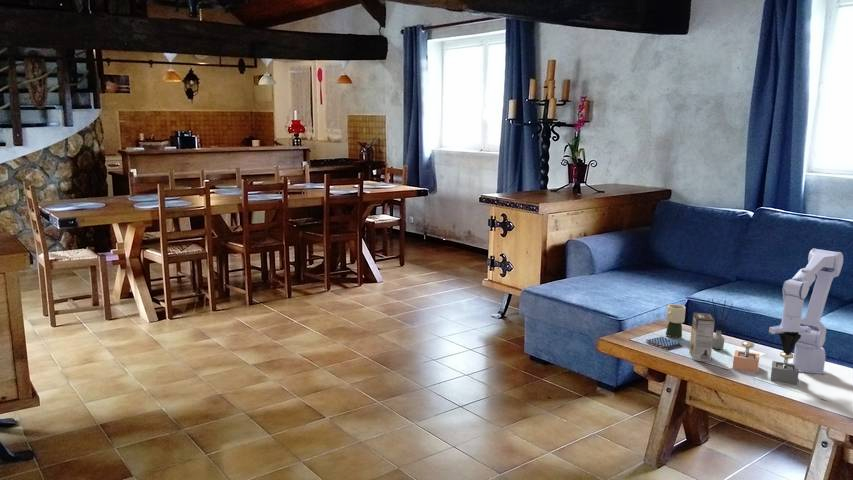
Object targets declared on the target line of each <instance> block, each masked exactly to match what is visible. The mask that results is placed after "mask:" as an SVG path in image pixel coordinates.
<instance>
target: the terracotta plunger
mask: <svg viewBox="0 0 853 480" xmlns="http://www.w3.org/2000/svg"><path fill="white" fill-rule="evenodd" d="M741 346H742V347H744V348H745V351H744V352H745V354H742V353H740V354H739V356H741V357H747V358H753V359H754V355H749V352H750V349H751V348H754V347H755V343H754V342H752V341H744V340H743V341H742V342H741Z"/></svg>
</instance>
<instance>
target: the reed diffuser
mask: <svg viewBox="0 0 853 480" xmlns="http://www.w3.org/2000/svg"><path fill="white" fill-rule="evenodd" d="M711 301H712V306H713V313H714V320H715V323H716V324H715V325H716V329H715V334H713V341H712V348H714V349H717V350H718V349H720V350H723V349H724V346H725V345H724V344H725V337H724V336H722V330H723V327H724V325H725V323H726V320H727V319H728V316H729V313H730V312H731V310H732V307H733V303H731V305H730V308H729V310H728V312H727V315H726V317H725V319H724V322H723V317H724V314H725V313H724V311H725V308H726V301H727V300H724V304H723V308H722V309H723V310H722V314H721V321H720V325H719V323H718V321H719V320H718V313H717V305H716V302H714V299H713V298H711ZM722 322H723V323H722Z"/></svg>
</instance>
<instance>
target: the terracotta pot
mask: <svg viewBox="0 0 853 480" xmlns="http://www.w3.org/2000/svg"><path fill="white" fill-rule="evenodd" d="M740 353H742V354H745V351H743V350H734V353H733V354H734V355H733V360H732V361H733V363H732V369H733V370H735V369H737V370H736V371H742V372H747V373H752V372H753V373H754V374H758V371H759V362H760V353H755V352H750V351H749V355H754V359H753V358H747V357H741V356H739V354H740Z"/></svg>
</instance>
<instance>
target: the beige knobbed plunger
mask: <svg viewBox="0 0 853 480" xmlns="http://www.w3.org/2000/svg"><path fill="white" fill-rule="evenodd" d="M779 356H780V357H782V358H783V363H784V365H781V364H777V367H778V368H784V369H790V370H793V367H792V366H787V365H788V363H789V360H790V359H793V358H794V353H792V352H791V354H786V353H784V352H783V351H781V352H779Z"/></svg>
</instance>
